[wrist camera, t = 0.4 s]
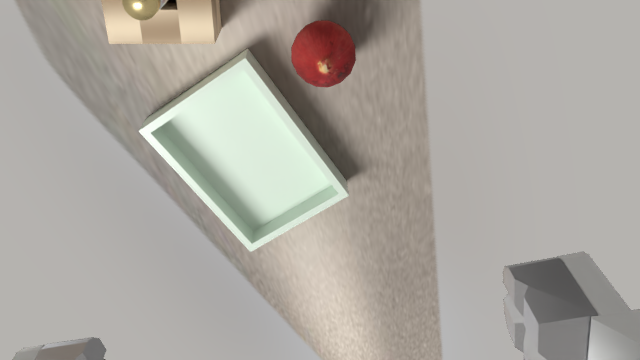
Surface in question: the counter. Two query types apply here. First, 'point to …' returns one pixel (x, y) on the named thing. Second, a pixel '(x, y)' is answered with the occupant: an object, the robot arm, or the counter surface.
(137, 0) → the steel pin
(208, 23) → the hitch block
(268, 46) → the counter surface
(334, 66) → the onion
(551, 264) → the robot arm
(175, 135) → the tray
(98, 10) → the counter surface
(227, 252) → the counter surface
